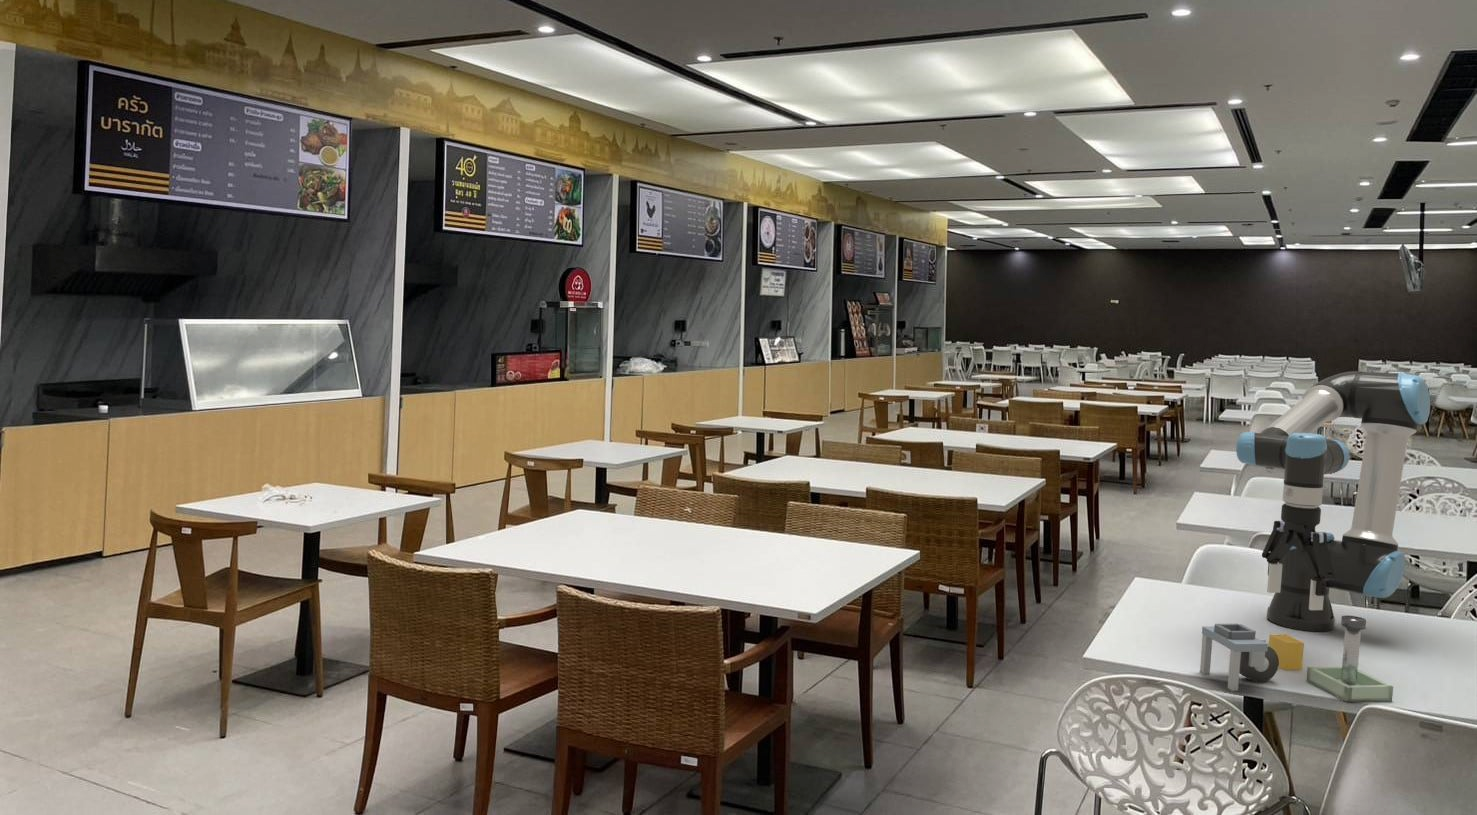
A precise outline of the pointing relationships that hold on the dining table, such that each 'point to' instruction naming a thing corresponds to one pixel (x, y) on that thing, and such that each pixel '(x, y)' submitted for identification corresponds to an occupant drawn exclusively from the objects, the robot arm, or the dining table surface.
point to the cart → (1240, 653)
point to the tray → (1361, 692)
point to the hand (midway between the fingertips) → (1294, 600)
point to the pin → (1351, 648)
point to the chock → (1287, 651)
